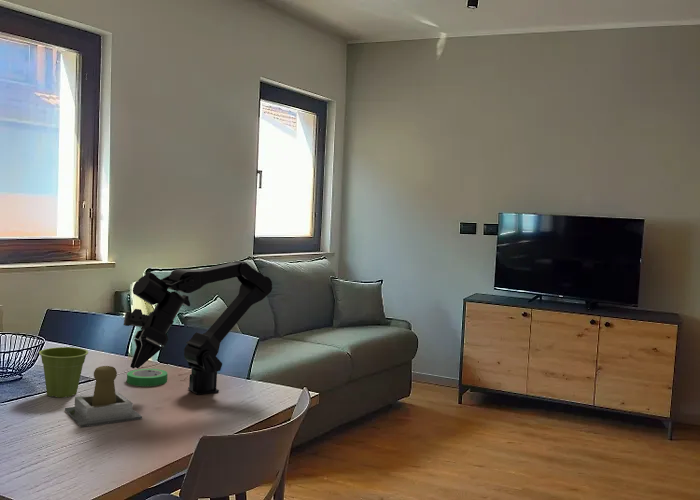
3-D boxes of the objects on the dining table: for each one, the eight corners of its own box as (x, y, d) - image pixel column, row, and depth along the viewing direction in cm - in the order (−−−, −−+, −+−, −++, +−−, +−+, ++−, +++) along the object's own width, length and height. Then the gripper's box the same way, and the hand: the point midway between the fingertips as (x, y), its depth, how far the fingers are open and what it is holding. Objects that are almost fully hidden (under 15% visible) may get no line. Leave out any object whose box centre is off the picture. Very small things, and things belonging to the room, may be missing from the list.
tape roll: (119, 381, 198) (119, 371, 198) (152, 375, 206) (153, 366, 206) (140, 389, 191) (141, 379, 191) (174, 383, 199) (175, 374, 199)
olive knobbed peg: (100, 417, 162) (101, 371, 162) (85, 411, 166) (86, 366, 165) (122, 412, 167) (124, 367, 167) (107, 406, 171) (109, 362, 170)
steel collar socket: (122, 403, 176) (123, 389, 176) (142, 418, 165) (142, 404, 165) (64, 410, 168) (65, 395, 168) (81, 427, 157) (81, 411, 157)
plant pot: (56, 403, 173) (58, 359, 172) (27, 394, 179) (29, 351, 178) (96, 394, 183) (98, 352, 182) (67, 385, 189) (69, 344, 188)
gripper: (132, 301, 187) (102, 353, 182) (140, 294, 170) (107, 352, 165) (169, 321, 190) (140, 373, 185) (181, 316, 173) (149, 373, 168)
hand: (133, 367), depth 176 cm, fingers open, 9 cm apart
